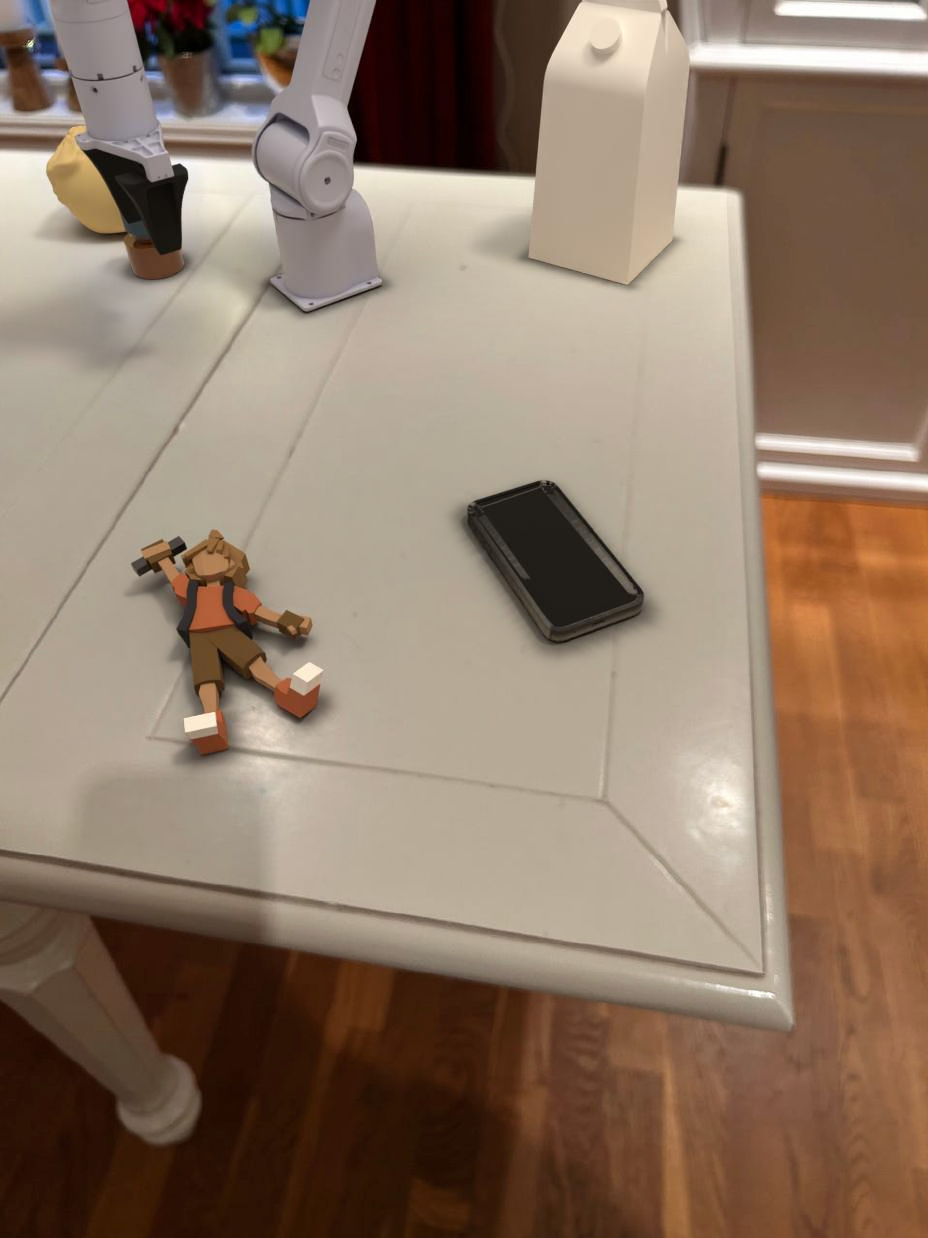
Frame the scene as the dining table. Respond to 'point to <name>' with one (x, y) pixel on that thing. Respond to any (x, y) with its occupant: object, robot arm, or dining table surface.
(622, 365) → the dining table surface
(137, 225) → the slate bottle
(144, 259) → the brown cup
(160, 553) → the character figurine
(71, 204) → the sculpture
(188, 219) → the dining table surface
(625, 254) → the milk
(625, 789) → the dining table surface
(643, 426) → the dining table surface
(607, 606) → the phone
